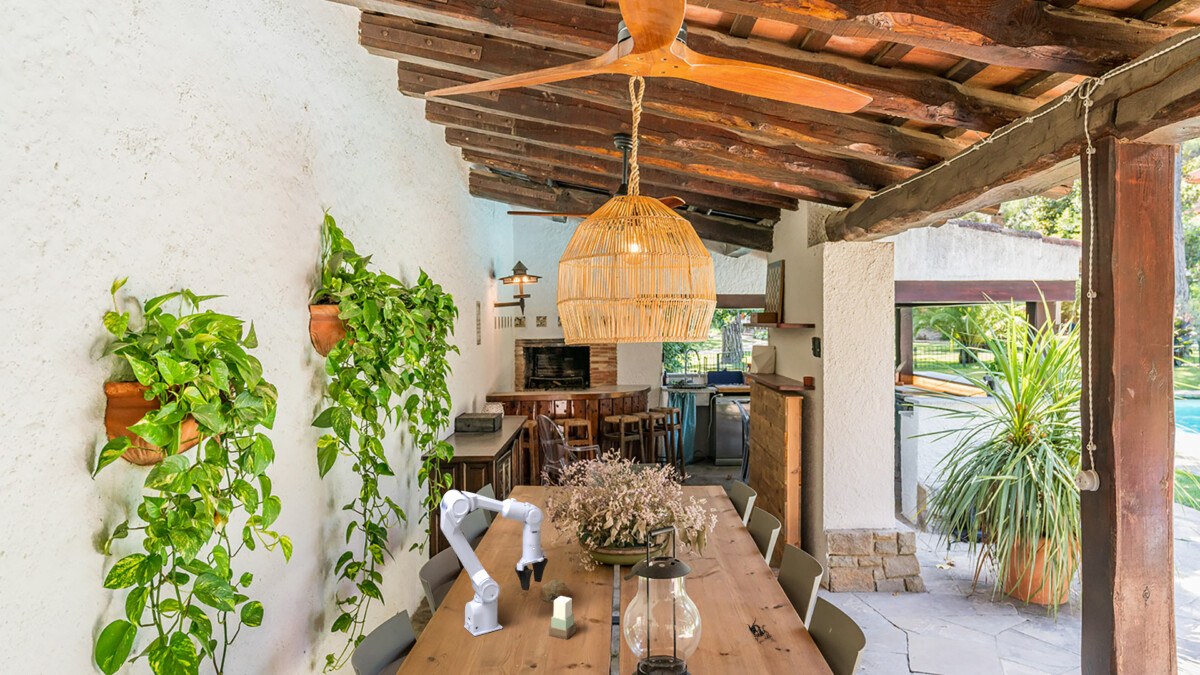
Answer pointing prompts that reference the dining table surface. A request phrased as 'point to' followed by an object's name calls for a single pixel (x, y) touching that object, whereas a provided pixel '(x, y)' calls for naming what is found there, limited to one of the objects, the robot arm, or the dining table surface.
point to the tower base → (562, 632)
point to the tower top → (562, 622)
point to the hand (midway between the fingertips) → (531, 585)
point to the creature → (753, 630)
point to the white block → (562, 607)
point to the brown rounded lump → (554, 590)
